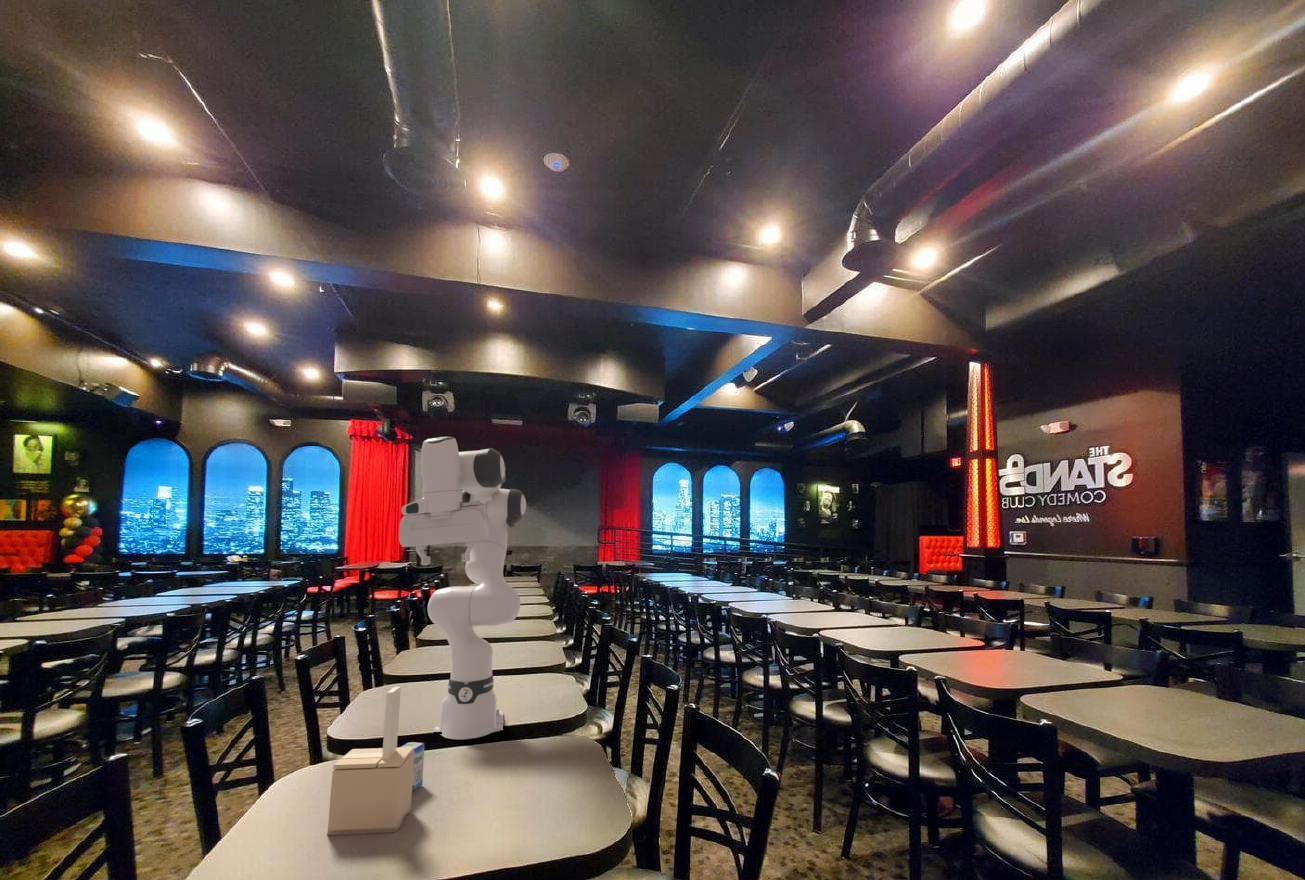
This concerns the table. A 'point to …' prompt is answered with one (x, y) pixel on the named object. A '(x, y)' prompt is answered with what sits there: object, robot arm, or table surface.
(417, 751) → the medicine box
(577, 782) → the table surface
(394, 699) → the flap
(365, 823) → the carton
